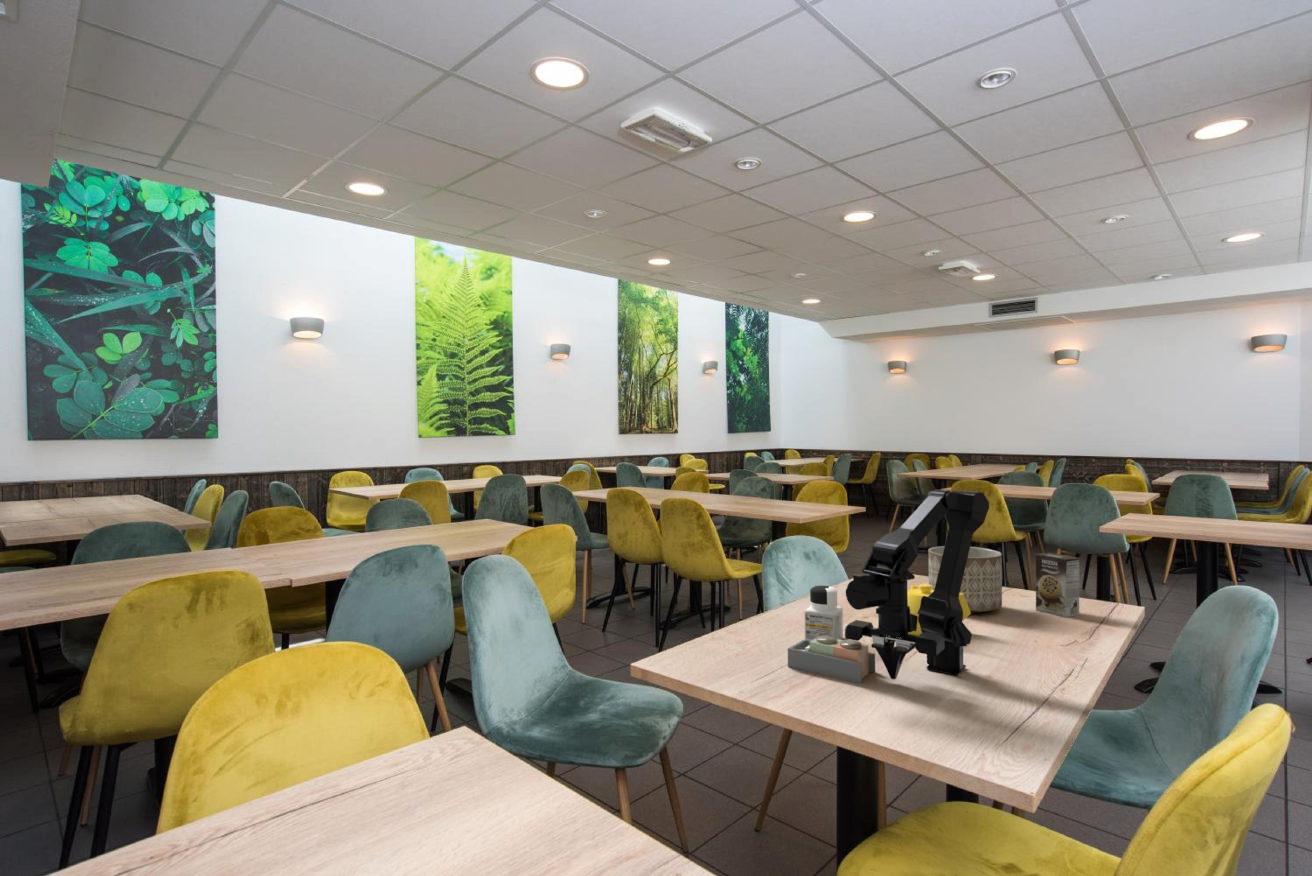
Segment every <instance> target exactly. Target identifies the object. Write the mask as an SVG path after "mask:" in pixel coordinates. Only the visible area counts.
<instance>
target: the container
mask: <svg viewBox="0 0 1312 876" xmlns="http://www.w3.org/2000/svg"><path fill="white" fill-rule="evenodd" d="M809 593H810V597H809V598H810V599H809V600H810V601H809V602H810V603H809V604H810V606H809V607H807V608H806V609H805V610H804V639H805V640H810V641H812V640H814V639H816V637H817V636H822V635H828V636H833V637H836V638H837V639H840V640H842V638H843V637H844V630H843V629H844V628H843V627H844V624H843V621H844V619H843V618H844V616H843V615H844V614H843V613H844V611H843V610H844V609H843V608H844V607H843V606H839V605H838V590H837V588H835V587H833V586H830V585H815V586H813V587H811V588H810V589H809Z"/></svg>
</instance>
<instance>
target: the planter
mask: <svg viewBox="0 0 1312 876" xmlns="http://www.w3.org/2000/svg"><path fill="white" fill-rule="evenodd" d="M944 547H945V545H944V546H943V545H941V546H932V547H929V548H928V585H931V586H932V589H931V590H934V589H935V585H936V580H937V576H938V572H939V568H940V563H941V559H942V555H943V551H944ZM1002 555H1003V554H1002V552H1001V551H998V550H993V549H990V548H986V547H985V548H984V547H977V546H970V550H969V554H968V558H967V563H966V567H965V571H964V576H963V580H962V584H961V589H960V593H963V594H964V596H965V599H966V601H967V604H968V607H969V610H970V612H971V614H976V613H983V612H990V611H996V610H999V609H1001V608H1002V606H1003V575H1002V574H1003V566H1002V565H1003V564H1002V563H1003V558H1002Z"/></svg>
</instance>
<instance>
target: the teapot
mask: <svg viewBox="0 0 1312 876" xmlns="http://www.w3.org/2000/svg"><path fill="white" fill-rule="evenodd" d="M918 587H919V588H918ZM931 589H932V586H931V585H929V584H927V583H921V584H918V585H916V584H915V585H912V584H911V585H910V589H907V596H908V606H910V614H913V615H916V616H919V614H917V612H918V610H919V608H920V604H921V598H922V597H923V596H927V597H928V596H929V595H930V594H931V593H932V592H933V591H934V590H931ZM959 601H960V604H961V607H962V610H963V620H962V622H963V621H964V620H966V618H968V617H969V616H970V615H971V614H972V613H971V612H970V610H969V607H968V604H967V601H966V599H965V596H964V594H963V593H959ZM921 633H922V631H921V627H920V624H919V622H918V620H917V629H916V631H912V632H908V634H909V635H915V636H919V635H920V634H921Z"/></svg>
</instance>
